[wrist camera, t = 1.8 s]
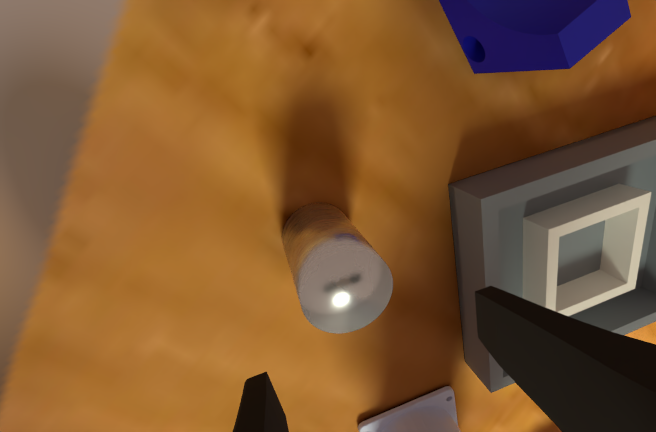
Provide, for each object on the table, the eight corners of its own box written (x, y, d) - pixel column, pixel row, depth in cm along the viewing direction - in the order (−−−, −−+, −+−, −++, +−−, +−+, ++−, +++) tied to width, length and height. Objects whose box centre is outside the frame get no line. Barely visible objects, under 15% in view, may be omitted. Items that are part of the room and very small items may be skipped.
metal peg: (356, 253, 21) (399, 313, 15) (293, 275, 20) (314, 346, 15) (342, 193, 19) (384, 236, 14) (273, 215, 18) (288, 270, 13)
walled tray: (641, 288, 29) (683, 309, 26) (464, 361, 26) (491, 392, 24) (673, 109, 23) (732, 113, 20) (448, 184, 20) (480, 199, 18)
